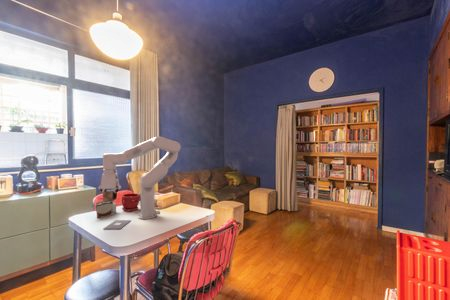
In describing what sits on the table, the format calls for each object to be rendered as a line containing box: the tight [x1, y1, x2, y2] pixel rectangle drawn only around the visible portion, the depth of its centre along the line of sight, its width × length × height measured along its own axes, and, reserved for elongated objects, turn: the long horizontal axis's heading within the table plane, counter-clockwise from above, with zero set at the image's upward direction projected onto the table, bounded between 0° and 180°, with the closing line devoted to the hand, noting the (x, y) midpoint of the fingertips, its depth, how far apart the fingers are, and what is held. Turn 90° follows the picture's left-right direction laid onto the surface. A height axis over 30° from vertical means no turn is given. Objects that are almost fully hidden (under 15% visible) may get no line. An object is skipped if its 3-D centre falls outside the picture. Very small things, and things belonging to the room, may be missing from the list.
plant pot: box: [121, 193, 140, 212], centre depth 171 cm, size 13×13×12 cm
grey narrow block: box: [111, 202, 117, 215], centre depth 163 cm, size 6×6×7 cm
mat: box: [103, 219, 132, 230], centre depth 137 cm, size 10×15×1 cm, turn 1°
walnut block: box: [102, 189, 117, 202], centre depth 144 cm, size 6×6×6 cm
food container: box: [94, 200, 114, 219], centre depth 156 cm, size 12×6×10 cm, turn 146°
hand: (109, 198), depth 144 cm, fingers closed on walnut block, 6 cm apart
